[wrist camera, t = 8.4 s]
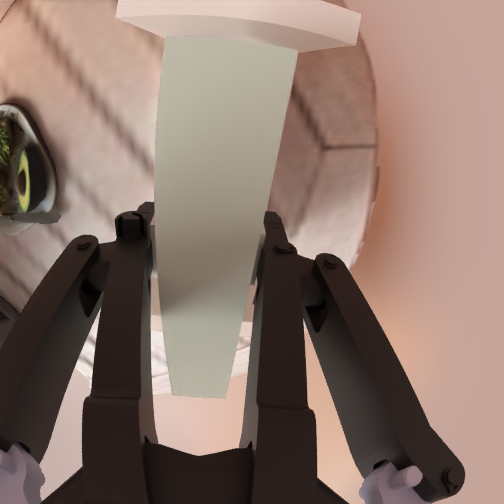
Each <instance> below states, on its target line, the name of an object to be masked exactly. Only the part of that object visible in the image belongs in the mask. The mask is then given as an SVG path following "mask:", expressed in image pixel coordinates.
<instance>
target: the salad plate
mask: <svg viewBox="0 0 504 504" xmlns="http://www.w3.org/2000/svg"><path fill="white" fill-rule="evenodd" d="M21 132H23V134H22V133H21ZM15 199H17V200H18V203H16V202H15ZM56 199H57V174H56V170H55V166H54V163H53V161H52V158H51V156H50V153H49V150H48V148H47V146H46V144H45V142H44V140H43V138H42V136H41V134H40V132H39V130H38V127H37V125H36V124H35V122H34V120H33V119H32V118H31V116H30V115H29V114H28V112H27V111H26V110H25V109H24V108H23V107H22V106H19V105H17V104H12V103H6V104H1V105H0V231H1V232H3V233H5V234H8V235H11V236H14V235H17V234H19V233H21V232H23V231H24V230H26V229H27V228H28V227H30V226H31V225H32V224H34V223H36V222H38V223H40V224H51V223H56V222H58V220H59V218H60V217H61V215H60V214H59V213H58V212H57V208H56Z"/></svg>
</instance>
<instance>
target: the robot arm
mask: <svg viewBox="0 0 504 504" xmlns="http://www.w3.org/2000/svg"><path fill="white" fill-rule="evenodd" d="M115 227H116V236H117V238H116V241H113V242H109V243H102V244H99V242H98V239H97V238H96V237H95V236H92V235H81V236H79V237H77V238H75V239H73V240H72V241H71V242H70V243H69V245H68V246H67V247H66V249H65V250H64V251H63V252H62V254H61V255H60V256H59V258H58V259H57V260H56V262H55V263H54V264H53V266H52V267H51V268H50V270H49V271H48V273H47V274H46V275H45V277H44V278H43V280H42V281H41V283H40V284H39V286H38V287H37V288H36V290H35V291H34V293H33V294H32V296H31V298H30V299H29V301H28V302H27V304H26V305H25V307H24V309H23V310H22V312H21V313H20V315H19V314H18V312H17V311H16V310H15V309H14V308H13V307H12V306H11V305H10V304H9V303H7V302H6V301H5V300H4V299H2V298H1V297H0V504H349V503H348V502H346V501H345V500H344V499H343V498H341V497H340V496H339V495H338V494H336V493H335V492H334V491H333V490H331V489H330V488H329V487H328V486H327V485H326V484H324V483H323V482H322V481H321V480H320V479H319V478H317V436H316V418H315V414H314V412H313V410H311V409H310V408H309V407H308V401H307V378H306V377H307V376H306V358H305V340H304V325H303V318H304V321H305V324H306V327H307V329H308V332H309V335H310V337H311V340H312V343H313V346H314V348H315V351H316V354H317V357H318V359H319V362H320V365H321V368H322V371H323V373H324V376H325V379H326V382H327V385H328V387H329V390H330V393H331V396H332V399H333V402H334V405H335V408H336V411H337V413H338V416H339V419H340V422H341V425H342V428H343V431H344V434H345V437H346V440H347V443H348V446H349V449H350V452H351V454H352V457H353V459H354V462H355V464H356V466H357V468H358V470H359V471H360V473H361V475H362V477H363V478H364V479H365V480H364V482H363V484H362V487H361V488H360V490H359V495H360V497H361V498H362V499H364V501H365V504H432V503H434V502H435V501H439V500H442V499H445V498H448V497H451V496H453V495H455V494H457V493H458V492H459V491H460V489H461V488H462V486H463V484H464V480H465V471H464V467H463V465H462V463H461V462H460V461H459V459H458V458H457V457H456V456H455V455H454V454H453V452H452V451H451V450H450V449H449V448H448V446H447V445H446V444H445V443H444V442H443V441H442V439H441V438H440V437H439V436H438V435H437V434H436V432H435V431H434V430H433V429H432V428H431V427H430V425H429V423H428V420H427V418H426V416H425V413H424V411H423V409H422V407H421V405H420V403H419V400H418V398H417V396H416V394H415V392H414V390H413V388H412V386H411V384H410V381H409V379H408V377H407V375H406V373H405V371H404V369H403V367H402V365H401V363H400V361H399V359H398V357H397V356H396V354H395V352H394V350H393V348H392V346H391V344H390V342H389V340H388V338H387V337H386V335H385V333H384V331H383V329H382V327H381V326H380V324H379V322H378V320H377V318H376V317H375V315H374V313H373V311H372V310H371V308H370V306H369V304H368V302H367V301H366V299H365V298H364V296H363V294H362V292H361V291H360V289H359V287H358V285H357V284H356V282H355V280H354V279H353V277H352V275H351V274H350V272H349V270H348V269H347V267H346V265H345V264H344V262H343V261H342V260H341V259H340V258H338V257H337V256H335V255H333V254H328V253H321V254H319V255H317V256H316V258H315V260H312V259H309V258H305V257H302V256H300V255H298V253H297V250H296V248H295V247H294V246H293V245H292V244H291V243H289V242H288V239H287V236H286V233H285V230H284V227H283V224H282V221H281V218H280V217H279V216H278V215H277V214H276V213H275V212H269V211H265V216H264V220H263V225H262V230H261V235H260V240H259V244H258V249H257V254H256V259H255V263H254V268H253V273H252V278H251V282H250V285H255V281H256V277H257V287H256V292H255V296H254V300H253V304H254V312H253V323H252V334H251V345H250V355H249V366H248V377H247V387H246V397H245V408H244V418H243V428H242V435H241V439H240V444H239V448H235V449H231V450H227V451H222V452H218V453H213V454H208V455H203V456H196V455H192V454H188V453H185V452H181V451H179V450H176V449H173V448H170V447H166V446H164V445H161V444H158V439H157V435H156V430H155V421H154V409H153V394H152V375H151V273H152V270H153V278H158V276H157V261H156V242H155V206H154V202H144V203H143V204H142V205H140V206H139V208H138V209H137V211H128V212H124V213H121V214H120V215H118V216H117V217H116V218H115ZM100 308H101V312H100V318H99V324H98V331H97V338H96V346H95V355H94V364H93V375H92V389H91V394H90V396H88V397H86V398H85V400H84V404H83V415H82V463H83V466H82V467H81V468H80V469H79V470H78V471H77V472H76V473H75V474H73V475H72V476H71V477H70V478H69V479H68V480H67V481H65V482H64V483H63V484H62V485H61V486H60V487H59V488H58V489H56V490H55V491H54V492H53V493H52V494H50V495H49V496H48V497H47V498H46V499H44V500H43V501H41V497H40V488H41V486H42V485H43V484H44V483H45V477H44V474H43V473H42V471H41V468H40V466H39V464H40V462H41V460H42V459H43V456H44V454H45V452H46V450H47V448H48V445H49V442H50V439H51V436H52V432H53V429H54V425H55V422H56V419H57V415H58V413H59V409H60V406H61V403H62V400H63V398H64V394H65V392H66V389H67V386H68V384H69V381H70V378H71V376H72V373H73V370H74V368H75V365H76V363H77V360H78V358H79V355H80V353H81V350H82V348H83V346H84V343H85V341H86V339H87V336H88V334H89V332H90V330H91V327H92V325H93V323H94V321H95V319H96V316H97V314H98V312H99V310H100Z"/></svg>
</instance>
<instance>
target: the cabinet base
mask: <svg viewBox="0 0 504 504" xmlns="http://www.w3.org/2000/svg"><path fill="white" fill-rule="evenodd" d="M361 16H362V14H360V13H357V12H354V11H352V10H349V9H346V8H343V7H340V6H337V5H334V4H331V3H328V2H324V1H321V0H118V5H117V10H116V16H115V19H118V20H121V21H124V22H126V23H129V24H132V25H134V26H137V27H139V28H142V29H144V30H147V31H149V32H151V33H154V34H156V35H158V36H161V37H163V38H165V39H166V36H199V37H214V38H225V39H235V40H243V41H250V42H257V43H263V44H269V45H275V46H280V47H285V48H290V49H294V50H298V54H297V59H296V64H295V69H294V74H293V79H292V84H291V89H290V94H289V99H288V104H287V108H286V113H285V118H284V123H283V128H282V133H281V138H280V143H279V148H278V153H279V149H280V144H281V139H282V134H283V129H284V124H285V119H286V114H287V109H288V105H289V100H290V95H291V90H292V85H293V80H294V75H295V70H296V65H297V60H298V55H299V53H304V52H310V51H316V50H323V49H330V48H338V47H348V46H356V42H357V37H358V32H359V27H360V21H361ZM164 45H165V44H164ZM163 53H164V51H163ZM162 60H163V58H162ZM161 68H162V66H161ZM160 77H161V74H160ZM159 86H160V84H159ZM158 97H159V94H158ZM157 109H158V106H157ZM156 124H157V119H156ZM155 142H156V137H155ZM278 153H277V158H278ZM277 158H276V162H275V167H274V172H273V177H272V182H273V178H274V173H275V168H276V163H277ZM154 178H155V164H154ZM272 182H271V187H272ZM271 187H270V191H269V196H268V201H267V206H268V202H269V197H270V192H271ZM267 206H266V211H267ZM256 287H257V277H256V281H255V285H250V287H249V292H248V297H247V301H246V306H245V311H244V315H243V320H242V325H241V330H240V334H239V337H251V334H252V323H253V312H254V304H253V300H254V296H255V292H256ZM151 330H153V331H163V329H162V320H161V311H160V300H159V289H158V278H153V270H152V273H151Z"/></svg>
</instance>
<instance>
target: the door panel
mask: <svg viewBox="0 0 504 504" xmlns="http://www.w3.org/2000/svg"><path fill="white" fill-rule="evenodd" d="M297 54H298V50H294V49H290V48H285V47H280V46H275V45H269V44H263V43H257V42H250V41H243V40H235V39H225V38H214V37H199V36H166V39H165V45H164V53H163V60H162V68H161V77H160V86H159V97H158V109H157V124H156V142H155V178H154V206H155V242H156V261H157V276H158V289H159V300H160V311H161V320H162V329H163V337H164V345H165V352H166V359H167V366H168V372H169V378H170V384H171V390H172V395H176V396H188V397H203V398H226V394H227V390H228V385H229V381H230V376H231V372H232V367H233V362H234V358H235V353H236V348H237V344H238V339H239V334H240V330H241V325H242V320H243V315H244V311H245V306H246V301H247V297H248V292H249V287H250V282H251V278H252V273H253V268H254V263H255V259H256V254H257V249H258V244H259V240H260V235H261V230H262V225H263V220H264V216H265V211H266V206H267V201H268V196H269V191H270V187H271V182H272V177H273V172H274V167H275V162H276V158H277V153H278V148H279V143H280V138H281V133H282V128H283V123H284V118H285V113H286V108H287V104H288V99H289V94H290V89H291V84H292V79H293V74H294V69H295V64H296V59H297Z"/></svg>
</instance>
